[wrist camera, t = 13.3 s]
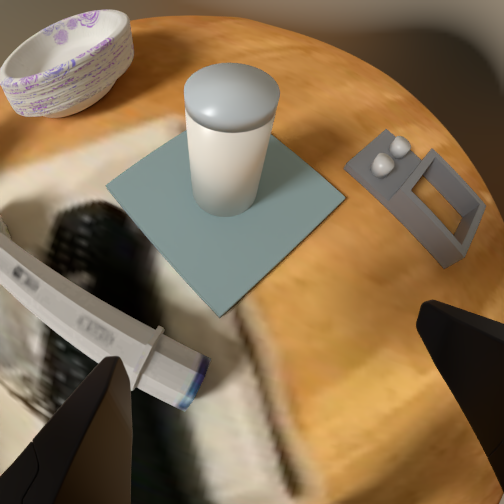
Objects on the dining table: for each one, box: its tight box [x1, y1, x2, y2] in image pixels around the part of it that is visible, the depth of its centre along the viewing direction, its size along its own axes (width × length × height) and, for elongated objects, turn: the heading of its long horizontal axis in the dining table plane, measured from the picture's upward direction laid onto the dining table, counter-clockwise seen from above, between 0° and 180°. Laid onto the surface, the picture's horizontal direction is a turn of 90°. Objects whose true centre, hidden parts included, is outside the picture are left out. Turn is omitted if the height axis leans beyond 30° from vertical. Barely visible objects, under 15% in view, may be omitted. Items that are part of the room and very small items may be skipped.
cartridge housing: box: [343, 129, 486, 269], centre depth 25 cm, size 13×8×3 cm, turn 45°
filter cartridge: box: [184, 63, 280, 217], centre depth 19 cm, size 5×5×10 cm
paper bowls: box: [0, 10, 134, 118], centre depth 24 cm, size 15×15×8 cm
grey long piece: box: [0, 214, 211, 411], centre depth 18 cm, size 5×7×25 cm
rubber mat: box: [106, 130, 346, 318], centre depth 24 cm, size 14×14×1 cm
